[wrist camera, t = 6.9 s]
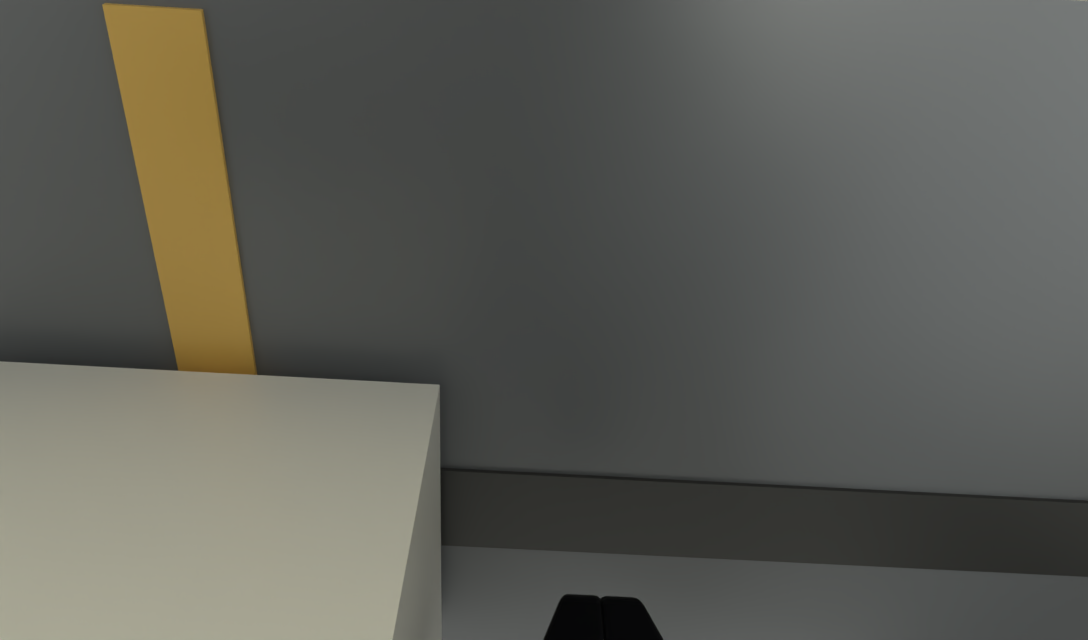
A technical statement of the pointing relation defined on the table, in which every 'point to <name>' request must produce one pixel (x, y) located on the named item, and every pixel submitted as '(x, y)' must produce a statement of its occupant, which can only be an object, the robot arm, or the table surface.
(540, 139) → the console
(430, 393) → the fader tab
